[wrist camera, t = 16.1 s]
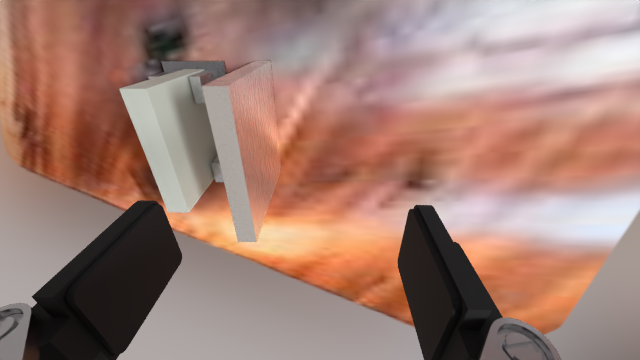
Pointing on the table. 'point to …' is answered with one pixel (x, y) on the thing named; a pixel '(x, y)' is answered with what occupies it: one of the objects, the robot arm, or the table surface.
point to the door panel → (173, 136)
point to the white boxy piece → (240, 135)
